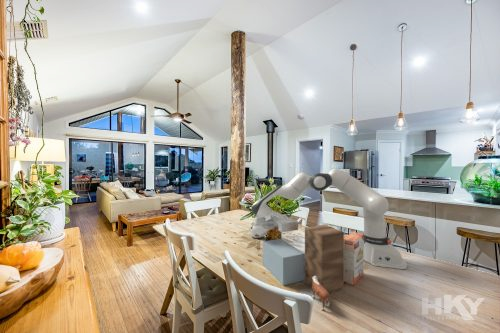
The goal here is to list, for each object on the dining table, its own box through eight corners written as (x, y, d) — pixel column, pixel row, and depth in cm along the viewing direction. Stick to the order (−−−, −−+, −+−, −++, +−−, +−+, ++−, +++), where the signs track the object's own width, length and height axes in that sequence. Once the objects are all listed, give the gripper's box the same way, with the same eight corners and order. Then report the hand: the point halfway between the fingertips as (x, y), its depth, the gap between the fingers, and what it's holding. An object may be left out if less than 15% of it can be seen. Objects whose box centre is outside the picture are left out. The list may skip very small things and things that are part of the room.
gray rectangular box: (262, 264, 121) (262, 241, 121) (281, 260, 126) (281, 238, 125) (283, 285, 101) (283, 257, 100) (304, 280, 105) (304, 253, 105)
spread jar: (249, 238, 164) (249, 222, 163) (256, 233, 174) (255, 219, 173) (263, 240, 158) (263, 224, 158) (269, 235, 168) (269, 221, 168)
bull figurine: (317, 291, 96) (317, 273, 96) (332, 312, 83) (332, 291, 83) (307, 292, 96) (307, 273, 95) (321, 313, 82) (321, 292, 82)
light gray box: (261, 220, 120) (261, 213, 120) (275, 218, 124) (275, 211, 124) (281, 232, 100) (281, 223, 100) (298, 229, 103) (298, 221, 103)
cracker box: (354, 286, 100) (355, 241, 99) (341, 281, 104) (341, 238, 103) (364, 274, 110) (364, 233, 109) (352, 270, 114) (352, 231, 113)
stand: (305, 281, 104) (304, 227, 103) (324, 276, 109) (324, 224, 108) (322, 295, 93) (322, 235, 92) (343, 289, 97) (343, 231, 97)
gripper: (249, 219, 128) (257, 212, 117) (279, 216, 136) (289, 209, 125) (251, 230, 125) (259, 224, 114) (282, 226, 133) (292, 219, 122)
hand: (275, 216), depth 119 cm, fingers closed on light gray box, 4 cm apart
